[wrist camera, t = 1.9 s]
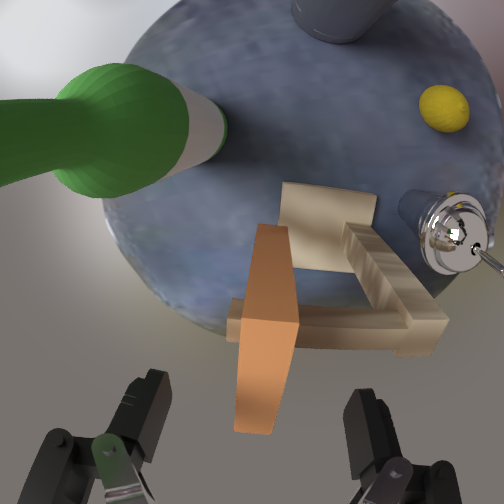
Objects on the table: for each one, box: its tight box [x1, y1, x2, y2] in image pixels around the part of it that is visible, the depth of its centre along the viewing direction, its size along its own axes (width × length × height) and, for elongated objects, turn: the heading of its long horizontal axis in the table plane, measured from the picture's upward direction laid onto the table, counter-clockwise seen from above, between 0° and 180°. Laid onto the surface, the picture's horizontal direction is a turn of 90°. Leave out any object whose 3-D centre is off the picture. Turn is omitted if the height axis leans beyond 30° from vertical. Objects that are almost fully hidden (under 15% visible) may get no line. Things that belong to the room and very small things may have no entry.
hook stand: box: [226, 181, 449, 357], centre depth 24 cm, size 10×14×20 cm
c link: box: [234, 224, 299, 435], centre depth 16 cm, size 8×2×10 cm, turn 176°
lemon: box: [419, 85, 470, 132], centre depth 22 cm, size 6×6×8 cm
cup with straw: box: [398, 190, 504, 278], centre depth 22 cm, size 8×9×20 cm
